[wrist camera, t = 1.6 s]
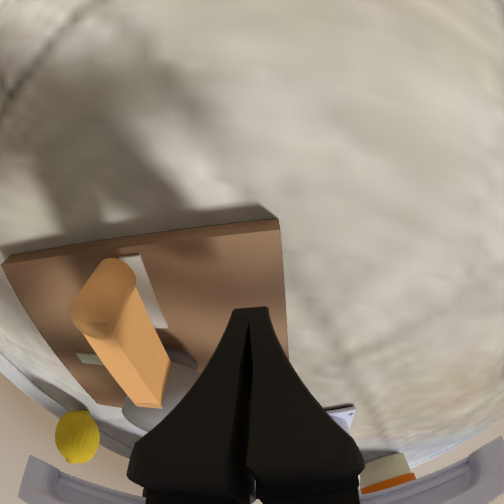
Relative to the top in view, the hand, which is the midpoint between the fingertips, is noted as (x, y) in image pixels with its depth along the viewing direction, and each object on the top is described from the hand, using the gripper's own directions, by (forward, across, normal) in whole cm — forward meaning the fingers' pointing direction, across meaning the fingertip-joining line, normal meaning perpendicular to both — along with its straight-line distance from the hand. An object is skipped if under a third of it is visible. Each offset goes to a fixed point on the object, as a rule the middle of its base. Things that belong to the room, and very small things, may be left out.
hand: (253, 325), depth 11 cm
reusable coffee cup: (+5, -19, +48) cm, 52 cm away
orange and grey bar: (+1, +6, +3) cm, 7 cm away
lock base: (+4, +8, +6) cm, 11 cm away
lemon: (+5, +23, +20) cm, 31 cm away
